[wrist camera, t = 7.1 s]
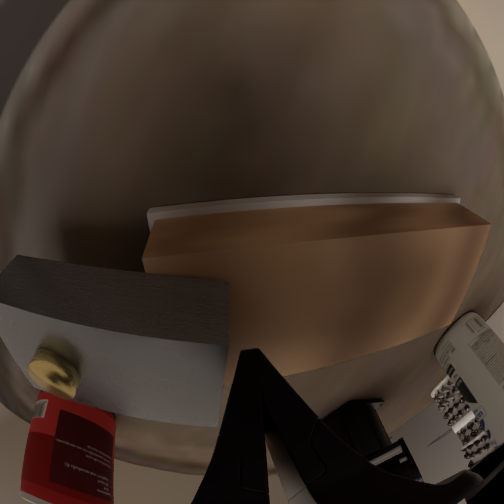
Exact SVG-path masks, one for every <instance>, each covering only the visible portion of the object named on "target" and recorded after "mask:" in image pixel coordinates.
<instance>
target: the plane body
mask: <svg viewBox="0 0 504 504" xmlns="http://www.w3.org/2000/svg"><path fill="white" fill-rule="evenodd" d="M460 199H461V198H459V197H457V196H455V195H448V194H421V193H338V194H308V195H287V196H270V197H255V198H242V199H230V200H218V201H208V202H198V203H188V204H179V205H170V206H162V207H154V208H149V210H148V212H147V219H148V224H149V229H150V236H149V238H148V241H147V244H146V247H145V250H144V253H143V256H142V262H143V266H144V269H145V273H151V274H160V275H169V276H179V277H188V278H198V279H209V280H220V281H229V349H228V356H227V363H226V369H225V376H224V383H223V385H229V384H232V382H233V378H234V374H235V370H236V367H237V363H238V359H239V355H240V351H241V350H244V349H252V348H259V349H260V350H261V351H262V352H263V354H264V355H265V356H266V357H267V358H268V360H269V361H270V362H271V363H272V364H273V366H274V367H275V368H276V369H277V370H278V372H279V373H280V374H281V375H282V376H286V375H292V374H296V373H301V372H306V371H310V370H315V369H319V368H323V367H327V366H331V365H335V364H339V363H343V362H346V361H350V360H353V359H357V358H360V357H364V356H367V355H370V354H373V353H376V352H380V351H383V350H386V349H389V348H391V347H394V346H397V345H400V344H403V343H406V342H408V341H411V340H414V339H416V338H419V337H421V336H424V335H426V334H429V333H431V332H434V331H436V330H438V329H441V328H443V327H445V326H448V325H450V324H451V322H452V321H453V319H454V317H455V315H456V313H457V311H458V309H459V307H460V305H461V303H462V301H463V298H464V296H465V294H466V292H467V290H468V287H469V285H470V283H471V281H472V278H473V276H474V273H475V271H476V268H477V266H478V263H479V261H480V258H481V255H482V252H483V249H484V247H485V244H486V241H487V237H488V234H489V231H490V228H491V224H490V223H489V222H487V221H486V220H484V219H483V218H481V217H479V216H478V215H476V214H475V213H473V212H471V211H470V210H468V209H466V208H465V207H463V206H461V205H460Z"/></svg>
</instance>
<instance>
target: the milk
mask: <svg viewBox="0 0 504 504" xmlns="http://www.w3.org/2000/svg"><path fill="white" fill-rule="evenodd" d="M486 324H487V325H488V326H489V327H490V328H491V329H492V330H493V331H494V332H495V333H496V335H497V336H498V337H499V338H500V339H501V341H502V342H503V343H504V302H503V303H502V304H501V305H500V306H499V308H498V309H497V310H496V311H495V312H494V313H493V314H492V316H491V317H490V318H489V319H488V320H487V321H486Z"/></svg>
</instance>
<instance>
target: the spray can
mask: <svg viewBox="0 0 504 504" xmlns="http://www.w3.org/2000/svg"><path fill="white" fill-rule="evenodd" d="M435 356H436V358H437V360H438V362H439V363H440V364H441V366H442V367H443V369H444V370H445V371H446V373H447V374H448V376H449V377H450V379H451V380H452V381H453V383H454V384H455V386H456V387H457V389H458V390H459V392H460V393H461V395H462V396H463V398H464V399H465V401H466V402H467V404H468V405H469V407H470V409H471V410H472V412H473V413H474V415H475V417H476V418H477V420H478V422H479V423H480V425H481V427H482V428H483V430H484V432H485V433H486V435H487V437H488V439H489V440H490V442H491V444H492V446H493V447H494V449H495V448H496V447H497V446H499V445H500V444H502V443H503V442H504V343H503V342H502V341H501V339H500V338H499V337H498V336H497V335H496V333H495V332H494V331H493V330H492V329H491V328H490V327H489V326H488V325H487V324H486V322H485V321H484V320H483V319H482V318H481V317H480V316H479V315H478V314H476V313H474V312H469V313H466V314H464V315H463V316H462V317H461V318H460V319H459V320H457V321H456V322H455V323H454V324H453V325H452V326H451V327H450V328H449V330H448V331H447V332H446V333H445V334H444V336H443V337H442V338H441V340H440V342H439V343H438V345H437V346H436V349H435Z"/></svg>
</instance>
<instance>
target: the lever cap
mask: <svg viewBox="0 0 504 504" xmlns="http://www.w3.org/2000/svg"><path fill="white" fill-rule="evenodd" d="M0 336H1V338H2V340H3V342H4V343H5V345H6V347H7V348H8V350H9V352H10V353H11V355H12V356H13V358H14V359H15V361H16V363H17V364H18V366H19V367H20V369H21V370H22V371H23V373H24V374H25V376H26V377H27V379H28V380H29V381H30V383H31V384H32V385H33V387H35V388H38V389H40V390H43V391H45V392H48V393H50V394H53V395H55V396H57V397H59V398H62V399H67V400H70V401H73V402H77V403H80V404H83V405H87V406H90V407H94V408H97V409H101V410H105V411H109V412H113V413H118V414H122V415H127V416H131V417H137V418H142V419H148V420H154V421H160V422H167V423H175V424H183V425H193V426H206V427H217V426H218V419H219V411H220V404H221V397H222V390H223V383H224V376H225V369H226V363H227V356H228V349H229V281H220V280H209V279H198V278H188V277H179V276H169V275H160V274H151V273H142V272H134V271H126V270H118V269H110V268H102V267H94V266H87V265H80V264H73V263H66V262H59V261H52V260H46V259H40V258H33V257H27V256H21V255H17V256H16V257H15V258H14V259H13V260H12V261H11V262H10V263H9V264H8V265H7V266H6V267H5V268H4V269H3V270H2V271H1V272H0Z"/></svg>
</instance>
